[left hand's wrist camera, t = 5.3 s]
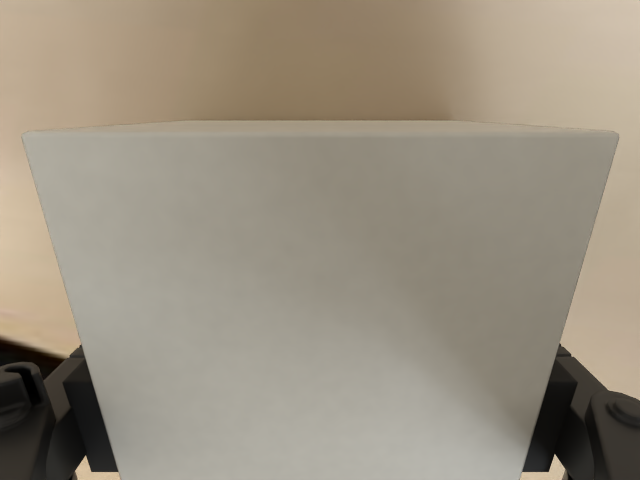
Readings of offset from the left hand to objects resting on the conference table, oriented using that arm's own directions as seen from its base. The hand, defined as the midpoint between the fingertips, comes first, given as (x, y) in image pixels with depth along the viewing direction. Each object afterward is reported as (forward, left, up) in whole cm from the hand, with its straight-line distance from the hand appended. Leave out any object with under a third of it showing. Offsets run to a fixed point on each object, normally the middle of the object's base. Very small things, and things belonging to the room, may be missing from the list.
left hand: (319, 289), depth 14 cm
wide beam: (+18, +30, 0) cm, 35 cm away
